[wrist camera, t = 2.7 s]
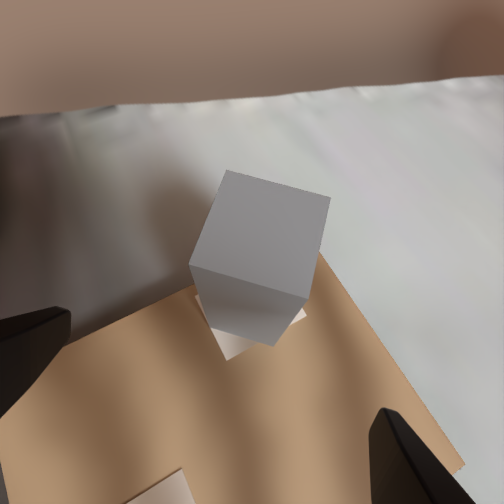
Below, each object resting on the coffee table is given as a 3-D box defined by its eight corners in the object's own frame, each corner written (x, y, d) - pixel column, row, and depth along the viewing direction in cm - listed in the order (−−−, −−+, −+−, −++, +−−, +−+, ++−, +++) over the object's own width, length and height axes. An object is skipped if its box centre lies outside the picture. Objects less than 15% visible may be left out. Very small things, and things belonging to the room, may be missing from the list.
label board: (82, 754, 13) (67, 788, 12) (-1, 386, 19) (-17, 385, 18) (451, 460, 18) (466, 464, 17) (301, 237, 24) (304, 229, 23)
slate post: (273, 346, 19) (308, 299, 10) (209, 327, 20) (188, 264, 10) (288, 285, 21) (330, 197, 12) (229, 268, 21) (226, 169, 12)
